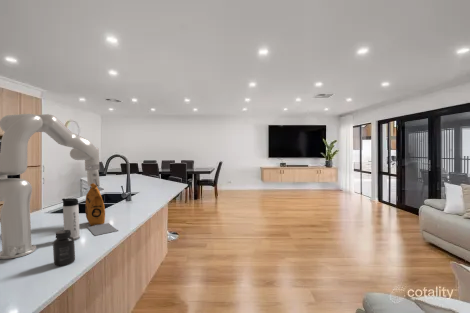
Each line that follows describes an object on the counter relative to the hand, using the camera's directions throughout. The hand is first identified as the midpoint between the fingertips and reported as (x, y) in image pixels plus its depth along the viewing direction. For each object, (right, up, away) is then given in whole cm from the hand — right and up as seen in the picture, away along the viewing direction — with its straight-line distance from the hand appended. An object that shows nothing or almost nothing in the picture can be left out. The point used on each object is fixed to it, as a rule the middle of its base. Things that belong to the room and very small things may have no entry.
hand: (93, 198), depth 154 cm
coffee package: (+3, -13, -3) cm, 14 cm away
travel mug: (+6, -15, -30) cm, 34 cm away
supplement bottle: (+20, -16, -56) cm, 61 cm away
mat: (+13, -14, -15) cm, 24 cm away
